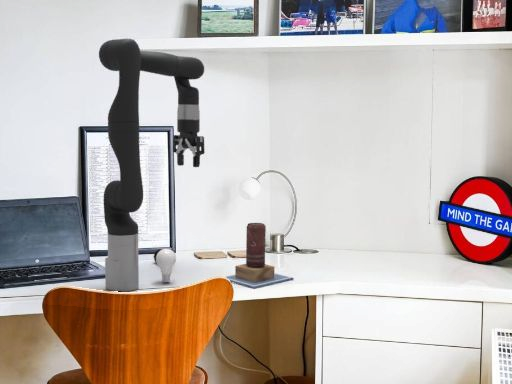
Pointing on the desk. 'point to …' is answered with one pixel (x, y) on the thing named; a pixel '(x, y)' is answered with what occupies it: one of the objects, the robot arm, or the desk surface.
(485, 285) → the desk surface
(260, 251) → the maroon rounded block
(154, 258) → the microphone
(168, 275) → the lightbulb
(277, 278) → the board
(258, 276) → the plinth
